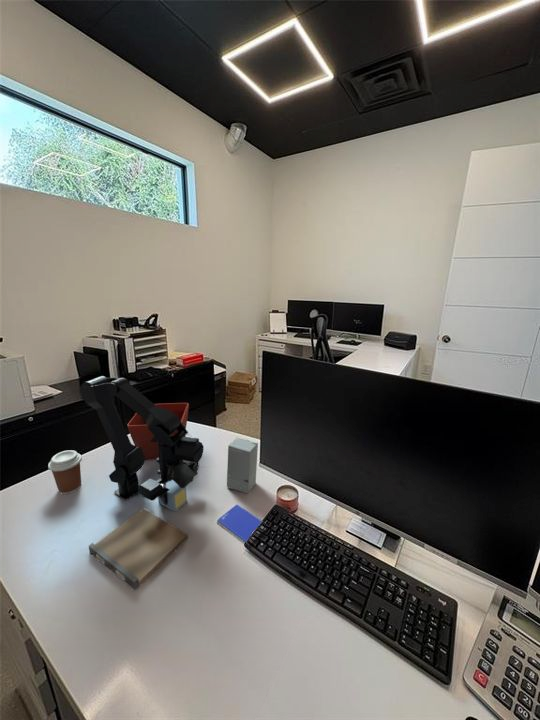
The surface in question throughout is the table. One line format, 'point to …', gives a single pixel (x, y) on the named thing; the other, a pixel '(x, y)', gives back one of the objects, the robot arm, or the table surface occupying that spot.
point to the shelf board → (138, 547)
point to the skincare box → (242, 464)
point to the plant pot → (144, 435)
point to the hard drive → (239, 522)
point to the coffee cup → (66, 471)
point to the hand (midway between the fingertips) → (172, 498)
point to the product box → (174, 496)
